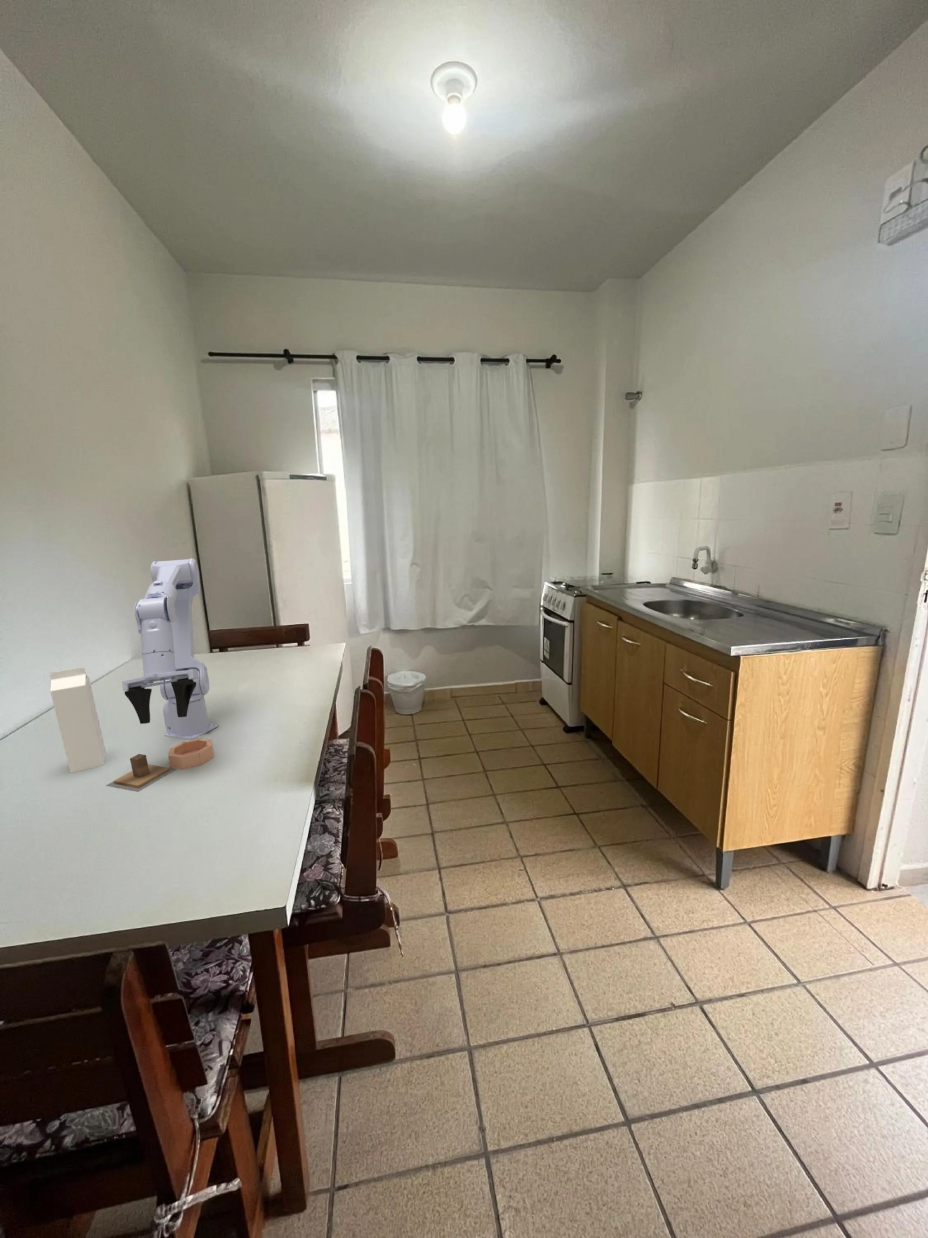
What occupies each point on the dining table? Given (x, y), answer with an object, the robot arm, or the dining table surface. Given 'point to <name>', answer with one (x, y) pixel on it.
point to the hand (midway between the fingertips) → (163, 720)
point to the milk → (77, 719)
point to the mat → (142, 786)
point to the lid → (140, 773)
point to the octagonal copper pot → (191, 753)
